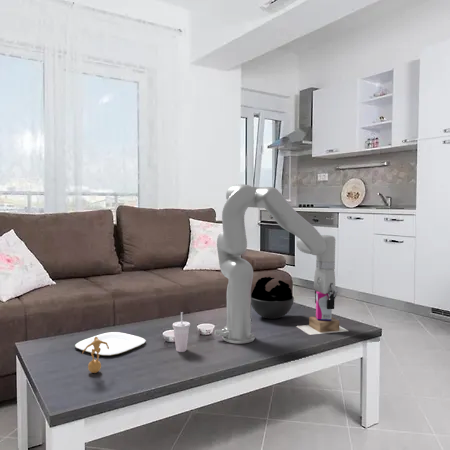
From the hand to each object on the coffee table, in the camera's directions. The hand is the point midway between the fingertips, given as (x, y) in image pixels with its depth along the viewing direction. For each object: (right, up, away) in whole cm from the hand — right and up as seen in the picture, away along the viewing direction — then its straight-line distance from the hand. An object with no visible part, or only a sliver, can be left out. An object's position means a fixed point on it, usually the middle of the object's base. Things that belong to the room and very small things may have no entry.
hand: (324, 306), depth 183 cm
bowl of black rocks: (-20, -9, +18) cm, 28 cm away
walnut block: (0, -9, +1) cm, 9 cm away
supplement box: (0, -6, +1) cm, 6 cm away
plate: (-84, -12, -20) cm, 87 cm away
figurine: (-82, -13, -46) cm, 95 cm away
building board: (-1, -10, 0) cm, 10 cm away
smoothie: (-57, -12, -24) cm, 63 cm away
